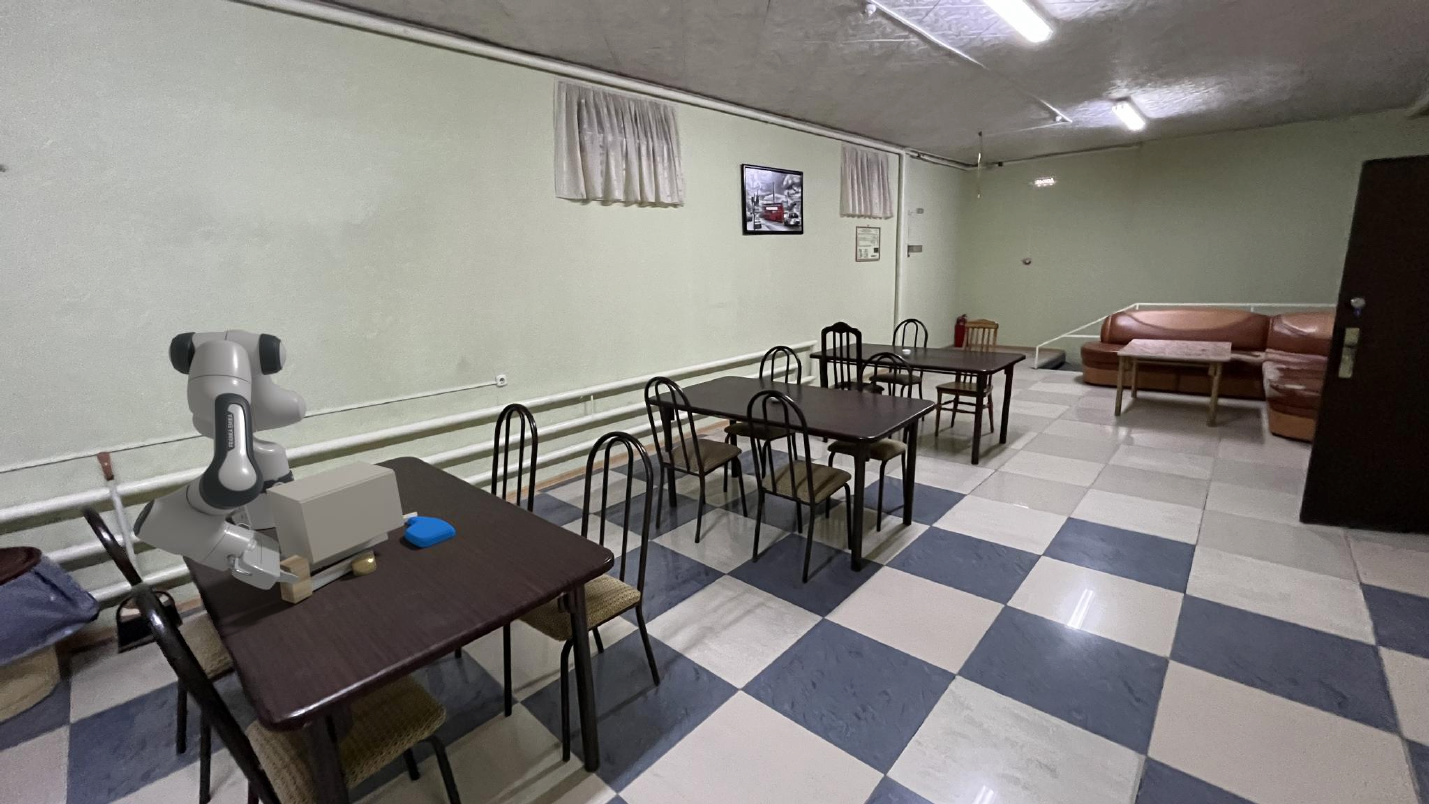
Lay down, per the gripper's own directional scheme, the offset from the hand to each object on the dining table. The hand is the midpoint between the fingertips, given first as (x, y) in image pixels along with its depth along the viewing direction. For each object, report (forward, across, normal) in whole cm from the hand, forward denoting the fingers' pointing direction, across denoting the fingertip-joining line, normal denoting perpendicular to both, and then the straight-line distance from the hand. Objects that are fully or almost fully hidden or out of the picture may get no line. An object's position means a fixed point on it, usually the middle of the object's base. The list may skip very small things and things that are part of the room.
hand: (296, 573), depth 127 cm
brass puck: (+14, +5, -5) cm, 15 cm away
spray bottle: (+25, +20, -15) cm, 36 cm away
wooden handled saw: (+9, +5, 0) cm, 10 cm away
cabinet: (+12, +16, -3) cm, 20 cm away
